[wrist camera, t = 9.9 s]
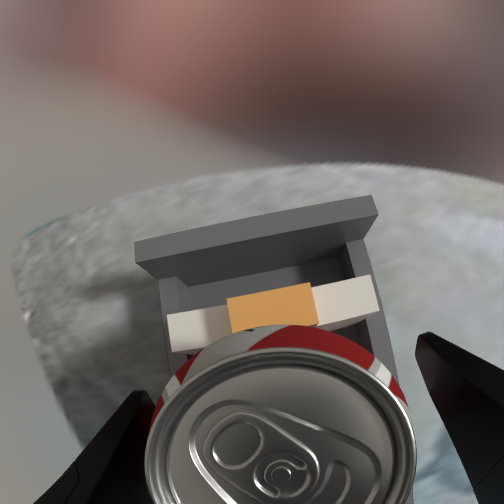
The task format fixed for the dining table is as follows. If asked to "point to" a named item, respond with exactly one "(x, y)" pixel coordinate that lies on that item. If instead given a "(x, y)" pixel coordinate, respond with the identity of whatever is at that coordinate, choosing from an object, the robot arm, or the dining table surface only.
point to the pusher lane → (268, 265)
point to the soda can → (281, 424)
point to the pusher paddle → (275, 312)
